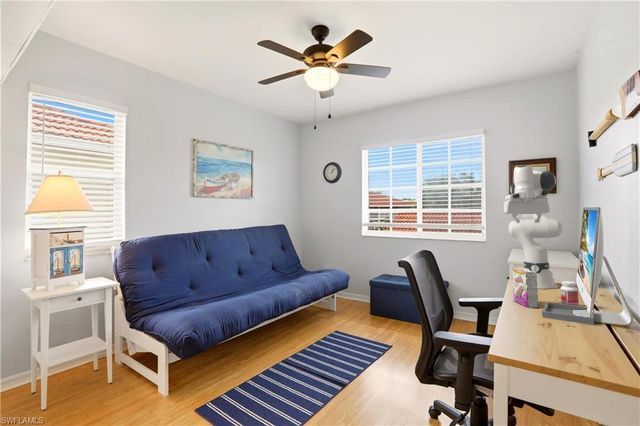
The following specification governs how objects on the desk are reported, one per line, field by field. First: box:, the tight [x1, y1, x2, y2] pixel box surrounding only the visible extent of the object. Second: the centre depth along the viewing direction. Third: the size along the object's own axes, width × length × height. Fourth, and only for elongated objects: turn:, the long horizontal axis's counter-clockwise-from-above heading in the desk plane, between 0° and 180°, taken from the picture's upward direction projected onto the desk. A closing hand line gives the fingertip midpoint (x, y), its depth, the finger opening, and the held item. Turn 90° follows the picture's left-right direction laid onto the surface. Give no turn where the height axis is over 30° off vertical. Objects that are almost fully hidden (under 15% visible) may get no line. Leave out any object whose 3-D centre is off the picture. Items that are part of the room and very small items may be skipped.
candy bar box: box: [511, 267, 539, 309], centre depth 144 cm, size 11×5×16 cm, turn 179°
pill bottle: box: [560, 280, 580, 306], centre depth 138 cm, size 6×6×11 cm
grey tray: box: [541, 301, 595, 326], centre depth 127 cm, size 16×16×2 cm
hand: (527, 222), depth 153 cm, fingers open, 8 cm apart
